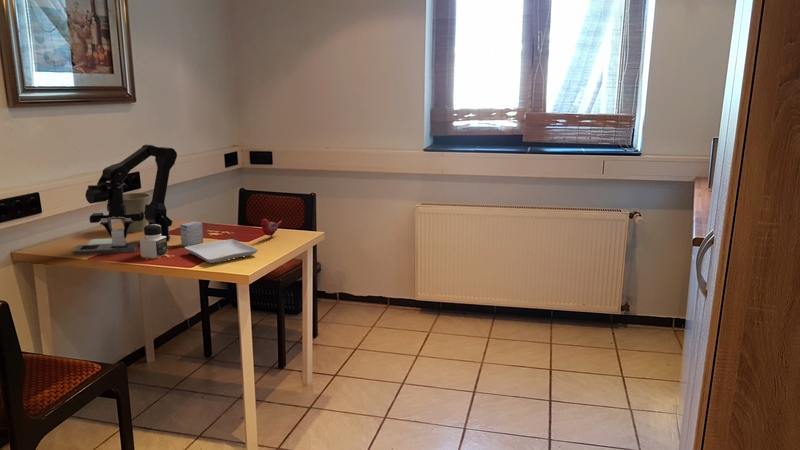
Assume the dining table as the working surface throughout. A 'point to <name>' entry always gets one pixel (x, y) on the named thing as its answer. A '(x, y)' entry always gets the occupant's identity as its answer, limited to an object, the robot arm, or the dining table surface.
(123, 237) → the steel peg
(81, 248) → the grey flat frame
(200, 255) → the salad plate
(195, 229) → the medicine box
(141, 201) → the plant pot
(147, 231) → the medicine bottle
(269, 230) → the decorative bird figurine
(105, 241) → the sage mat
